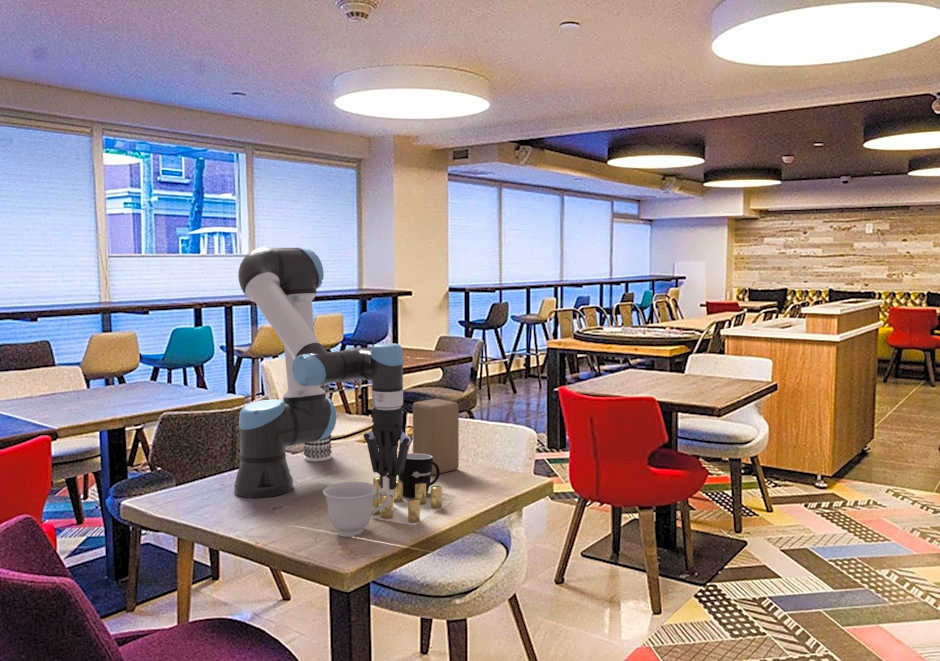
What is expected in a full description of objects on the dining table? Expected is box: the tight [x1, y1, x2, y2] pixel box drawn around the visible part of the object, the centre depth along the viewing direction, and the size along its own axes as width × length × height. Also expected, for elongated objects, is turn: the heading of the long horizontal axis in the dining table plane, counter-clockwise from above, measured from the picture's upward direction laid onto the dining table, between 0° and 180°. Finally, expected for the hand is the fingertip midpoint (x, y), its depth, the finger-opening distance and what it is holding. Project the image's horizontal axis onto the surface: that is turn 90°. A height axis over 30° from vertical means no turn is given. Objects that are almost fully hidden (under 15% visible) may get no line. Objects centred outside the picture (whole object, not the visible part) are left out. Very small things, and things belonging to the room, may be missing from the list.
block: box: [412, 398, 460, 476], centre depth 221 cm, size 10×10×20 cm
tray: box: [371, 496, 453, 526], centre depth 188 cm, size 23×19×1 cm
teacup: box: [322, 481, 390, 538], centre depth 171 cm, size 12×15×10 cm
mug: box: [397, 452, 441, 498], centre depth 198 cm, size 12×9×10 cm
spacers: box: [372, 476, 443, 524], centre depth 186 cm, size 20×15×5 cm
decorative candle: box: [302, 383, 333, 462], centre depth 235 cm, size 9×9×25 cm
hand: (388, 501), depth 187 cm, fingers closed
